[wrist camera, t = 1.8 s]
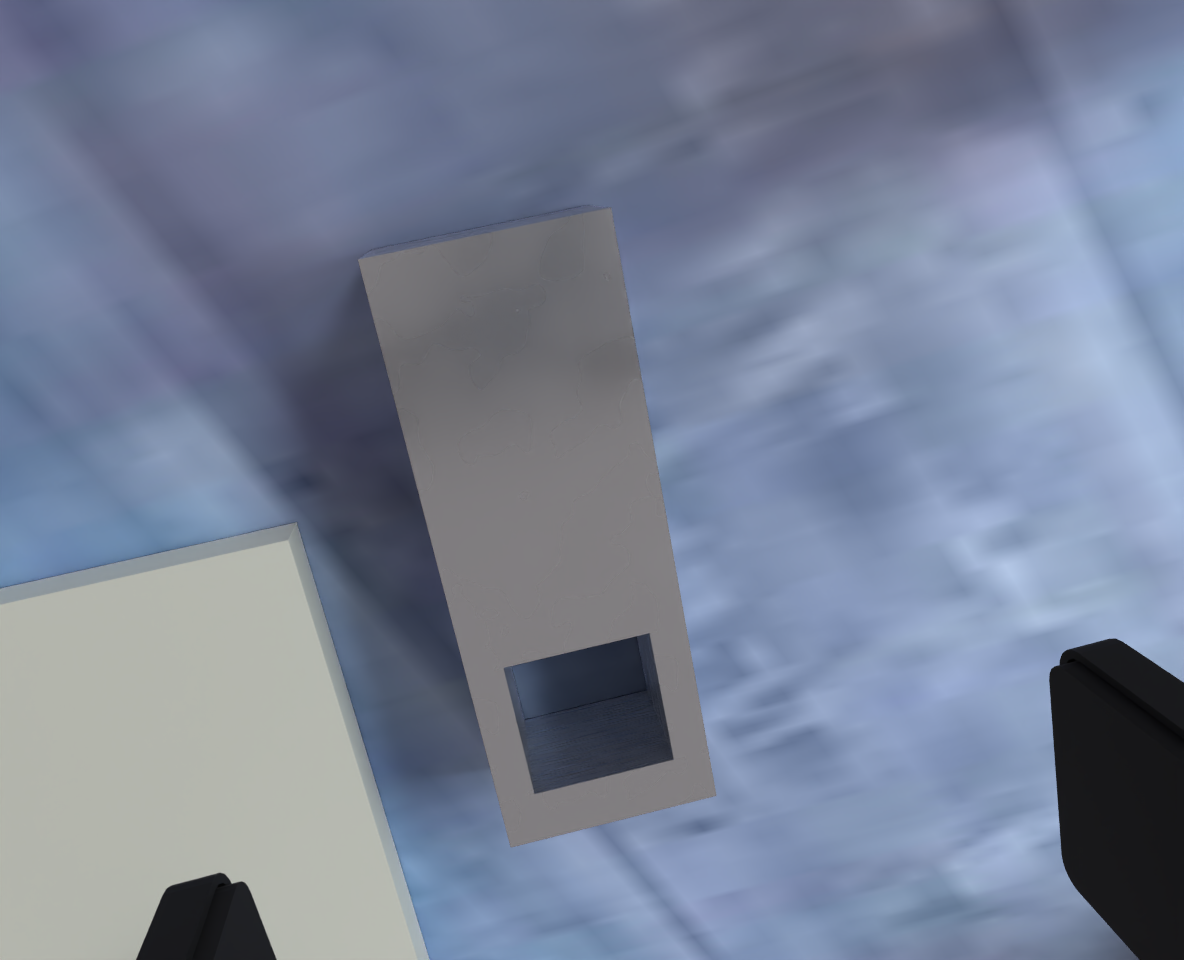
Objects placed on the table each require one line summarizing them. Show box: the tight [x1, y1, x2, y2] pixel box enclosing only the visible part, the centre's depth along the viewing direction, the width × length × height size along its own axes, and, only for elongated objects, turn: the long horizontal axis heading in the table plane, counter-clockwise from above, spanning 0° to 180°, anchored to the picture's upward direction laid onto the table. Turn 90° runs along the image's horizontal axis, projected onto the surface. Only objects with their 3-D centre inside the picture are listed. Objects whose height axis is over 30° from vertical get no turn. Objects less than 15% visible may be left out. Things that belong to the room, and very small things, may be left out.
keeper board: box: [0, 522, 429, 960], centre depth 27 cm, size 16×14×8 cm
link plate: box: [358, 205, 716, 847], centre depth 27 cm, size 16×6×4 cm, turn 11°
